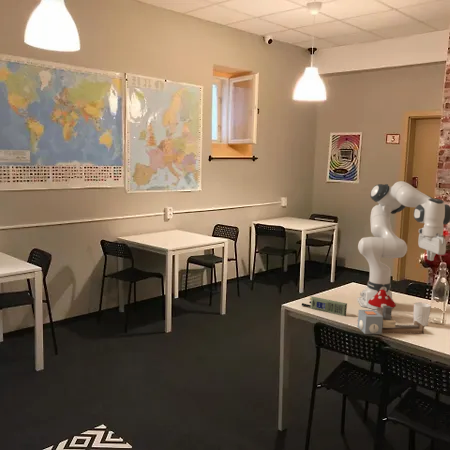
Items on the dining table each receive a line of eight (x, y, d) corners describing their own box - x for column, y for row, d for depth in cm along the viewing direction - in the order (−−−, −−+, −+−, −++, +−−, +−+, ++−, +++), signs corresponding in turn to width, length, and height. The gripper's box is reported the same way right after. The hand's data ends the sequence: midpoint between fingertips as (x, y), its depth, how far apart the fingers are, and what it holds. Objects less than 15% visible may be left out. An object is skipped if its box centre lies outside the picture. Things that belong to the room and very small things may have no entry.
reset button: (364, 317, 234) (365, 311, 233) (372, 317, 234) (373, 311, 234) (367, 320, 230) (368, 314, 230) (375, 320, 230) (376, 314, 230)
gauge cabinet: (356, 326, 237) (358, 309, 236) (373, 326, 238) (374, 309, 237) (364, 334, 227) (366, 316, 226) (381, 334, 228) (383, 316, 227)
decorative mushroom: (395, 323, 244) (398, 294, 242) (366, 320, 248) (369, 291, 246) (393, 315, 258) (396, 287, 256) (366, 312, 261) (369, 284, 259)
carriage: (377, 322, 236) (378, 304, 235) (389, 322, 237) (390, 304, 236) (382, 327, 230) (384, 309, 228) (395, 327, 230) (396, 309, 229)
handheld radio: (344, 316, 253) (300, 307, 266) (346, 315, 256) (302, 306, 269) (345, 304, 252) (301, 295, 266) (347, 303, 255) (303, 294, 269)
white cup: (420, 327, 240) (422, 307, 239) (408, 322, 247) (410, 302, 246) (432, 325, 243) (434, 306, 242) (420, 320, 251) (422, 301, 249)
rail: (374, 327, 237) (374, 320, 237) (415, 327, 239) (416, 320, 239) (380, 333, 229) (381, 326, 229) (423, 333, 231) (424, 326, 231)
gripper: (450, 235, 227) (447, 264, 229) (429, 229, 247) (426, 256, 249) (437, 235, 227) (435, 264, 228) (417, 229, 247) (414, 255, 249)
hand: (430, 260), depth 239 cm, fingers closed
